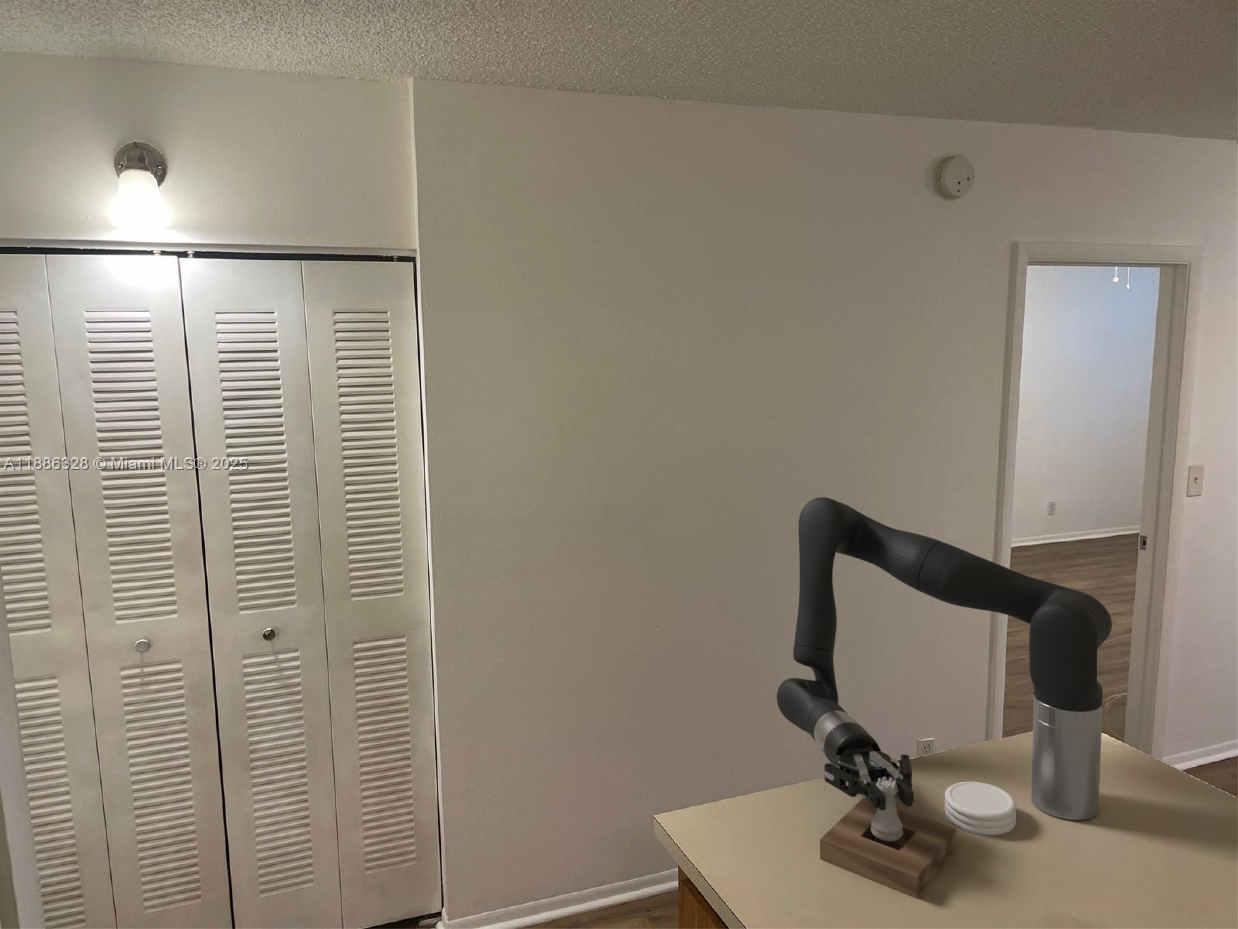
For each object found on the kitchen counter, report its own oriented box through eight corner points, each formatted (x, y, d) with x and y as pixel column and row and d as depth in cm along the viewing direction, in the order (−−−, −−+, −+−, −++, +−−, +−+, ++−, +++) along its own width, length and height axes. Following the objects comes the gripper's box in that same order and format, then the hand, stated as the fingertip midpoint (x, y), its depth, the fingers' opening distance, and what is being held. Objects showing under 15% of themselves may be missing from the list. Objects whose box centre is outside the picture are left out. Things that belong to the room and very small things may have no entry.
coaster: (1009, 804, 131) (1009, 783, 131) (1022, 841, 122) (1022, 818, 121) (941, 798, 134) (941, 777, 133) (948, 833, 124) (948, 811, 124)
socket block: (864, 815, 129) (863, 797, 129) (955, 847, 120) (956, 828, 120) (820, 858, 119) (819, 839, 119) (917, 898, 110) (917, 877, 109)
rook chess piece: (905, 844, 117) (905, 791, 116) (871, 841, 118) (872, 789, 117) (901, 826, 121) (901, 774, 120) (869, 823, 122) (869, 772, 121)
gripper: (802, 726, 131) (848, 783, 114) (887, 716, 133) (945, 771, 116) (803, 770, 132) (848, 834, 115) (887, 760, 134) (944, 821, 117)
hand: (896, 802), depth 116 cm, fingers closed on rook chess piece, 3 cm apart
